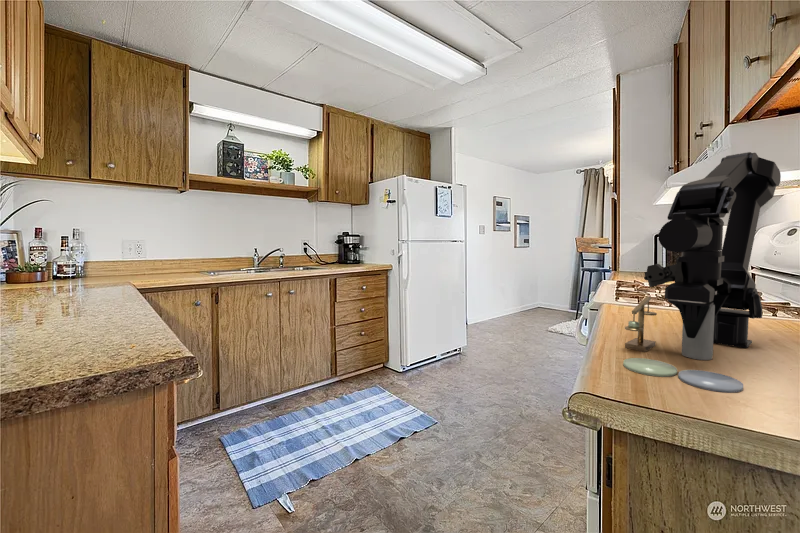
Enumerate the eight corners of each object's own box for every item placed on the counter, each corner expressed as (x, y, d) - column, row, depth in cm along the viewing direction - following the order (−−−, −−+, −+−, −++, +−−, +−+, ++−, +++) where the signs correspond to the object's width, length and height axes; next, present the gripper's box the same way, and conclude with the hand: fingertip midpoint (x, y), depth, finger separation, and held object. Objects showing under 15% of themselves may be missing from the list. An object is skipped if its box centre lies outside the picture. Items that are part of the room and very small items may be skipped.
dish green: (632, 358, 67) (632, 355, 67) (682, 369, 61) (683, 365, 61) (616, 367, 62) (616, 364, 62) (668, 380, 57) (669, 376, 56)
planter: (718, 361, 65) (721, 305, 64) (690, 359, 66) (692, 304, 65) (702, 353, 70) (705, 300, 69) (676, 352, 70) (678, 300, 70)
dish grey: (685, 370, 61) (685, 366, 61) (747, 383, 55) (747, 379, 55) (672, 381, 56) (672, 377, 56) (737, 397, 50) (738, 393, 50)
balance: (639, 340, 79) (641, 294, 78) (659, 343, 76) (661, 296, 76) (620, 350, 72) (621, 300, 72) (640, 354, 69) (642, 302, 69)
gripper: (665, 249, 79) (662, 319, 80) (633, 251, 67) (630, 333, 68) (733, 249, 70) (730, 328, 71) (710, 252, 58) (706, 346, 59)
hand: (697, 333), depth 68 cm, fingers open, 9 cm apart
